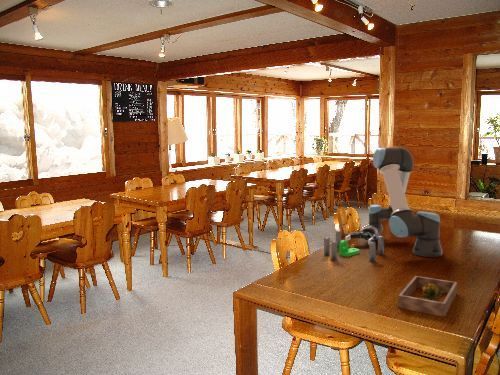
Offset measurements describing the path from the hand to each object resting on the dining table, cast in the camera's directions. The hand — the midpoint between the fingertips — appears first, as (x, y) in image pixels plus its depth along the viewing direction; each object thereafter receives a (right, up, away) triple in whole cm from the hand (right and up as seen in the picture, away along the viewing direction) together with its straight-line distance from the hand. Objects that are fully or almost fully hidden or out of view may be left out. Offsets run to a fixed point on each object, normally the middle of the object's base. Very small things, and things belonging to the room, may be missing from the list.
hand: (357, 240), depth 256 cm
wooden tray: (+11, -15, -74) cm, 76 cm away
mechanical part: (-5, -7, -4) cm, 10 cm away
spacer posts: (-5, -7, -9) cm, 12 cm away
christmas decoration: (+13, -16, -73) cm, 76 cm away
